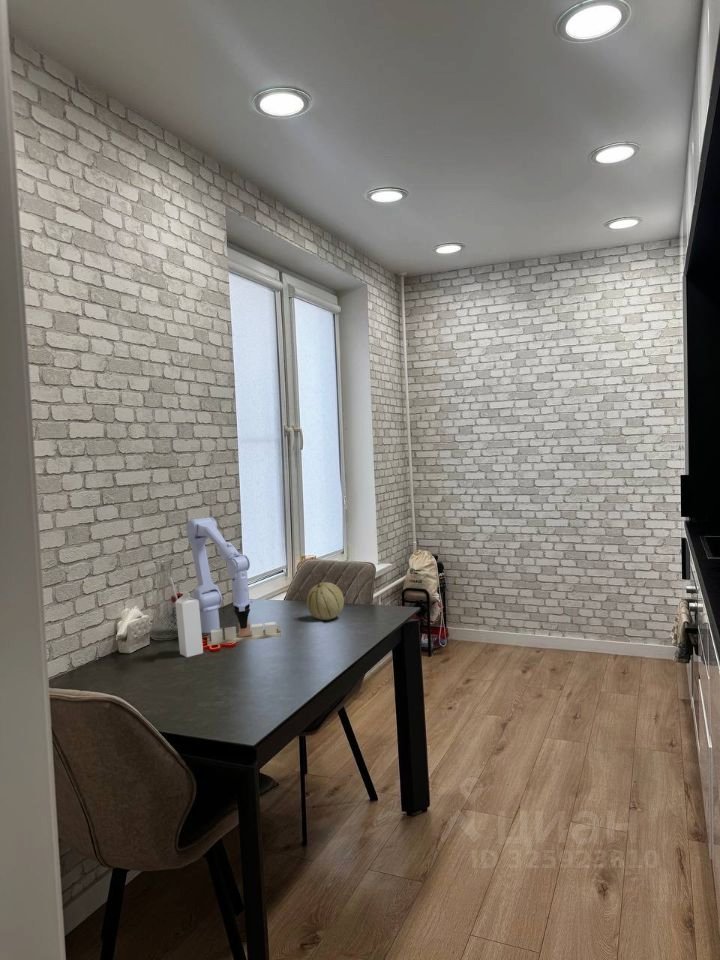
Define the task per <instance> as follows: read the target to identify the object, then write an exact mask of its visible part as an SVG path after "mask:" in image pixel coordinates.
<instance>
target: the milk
mask: <svg viewBox="0 0 720 960" xmlns="http://www.w3.org/2000/svg"><path fill="white" fill-rule="evenodd" d="M174 603H175V612H176V613H175V614H176V623H177V626H176V627H177V635H178V637H177V638H178V645H179V648H178V649H179V655H181V656H183V657H185V658H190V657H193V656H197V655H201V654H204V647H203V635H202V633H201V622H200V611H199V601H198V600H196V599H193V598H192V597H191V593H190V592H188V591H185V590H182V595H181V596H180V597H179V598H178V599H176V601H175V602H174Z"/></svg>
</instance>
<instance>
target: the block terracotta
mask: <svg viewBox="0 0 720 960" xmlns="http://www.w3.org/2000/svg"><path fill="white" fill-rule="evenodd" d="M250 631H251V621H247V628H244V629H241V628H240V625H239V624H238V633H239V637H240V636H248V635H251V632H250Z"/></svg>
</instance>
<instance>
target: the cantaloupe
mask: <svg viewBox="0 0 720 960" xmlns="http://www.w3.org/2000/svg"><path fill="white" fill-rule="evenodd" d="M344 598H345V597H344V595H343V592H342V590H341V589H340V588H339V587H338V586H337V585H336V584H334V583H332V582H328V581H327V582H326V581H325V582H324V581H323V582H319V583H318V584H316V585H314V586H313V587H311V588H310V590H309V591H308V592H307V596H306V608H307V610H308V612H309V613H310V615H311V616H312V617H313V618H315V619H317V620H319V621H330V620H333V619H335V618H336V617H337V616H339V615H340V614H341V612H342V611H343V608H344V605H345V599H344Z"/></svg>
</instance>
